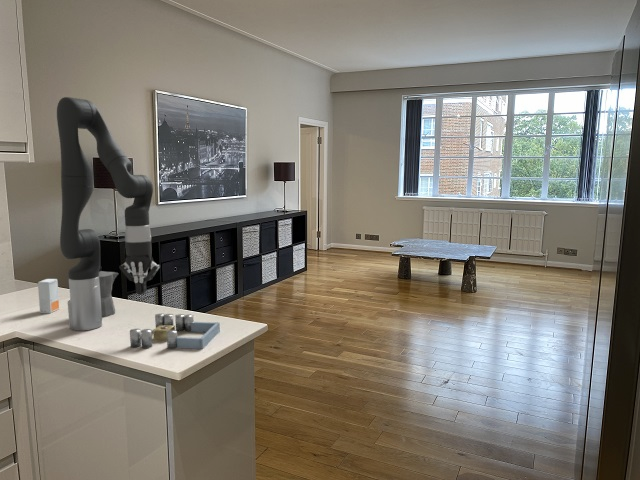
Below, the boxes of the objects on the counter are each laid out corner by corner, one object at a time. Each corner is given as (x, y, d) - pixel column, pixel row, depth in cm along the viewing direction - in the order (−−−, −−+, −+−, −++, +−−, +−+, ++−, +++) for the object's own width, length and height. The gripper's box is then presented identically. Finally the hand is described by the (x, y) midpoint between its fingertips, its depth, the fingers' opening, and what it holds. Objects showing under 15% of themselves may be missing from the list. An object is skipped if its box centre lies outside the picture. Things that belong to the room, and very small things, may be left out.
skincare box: (51, 313, 179) (48, 282, 177) (39, 313, 179) (37, 282, 177) (60, 309, 185) (57, 278, 183) (49, 308, 185) (46, 278, 183)
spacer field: (128, 347, 144) (127, 331, 143) (156, 327, 162) (156, 313, 162) (175, 349, 142) (174, 333, 141) (198, 329, 161) (197, 314, 160)
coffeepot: (117, 308, 186) (114, 262, 184) (124, 313, 179) (122, 266, 176) (73, 315, 176) (70, 267, 174) (79, 321, 169) (76, 271, 167)
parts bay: (172, 347, 144) (172, 337, 143) (192, 330, 160) (191, 321, 159) (203, 348, 143) (202, 339, 142) (219, 331, 159) (219, 322, 158)
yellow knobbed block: (153, 341, 150) (153, 329, 149) (159, 335, 155) (159, 324, 154) (169, 341, 150) (169, 330, 149) (175, 336, 155) (174, 325, 154)
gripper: (111, 241, 146) (115, 296, 148) (153, 241, 144) (156, 297, 147) (124, 237, 153) (127, 290, 155) (163, 238, 152) (166, 291, 154)
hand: (141, 294), depth 151 cm, fingers closed
